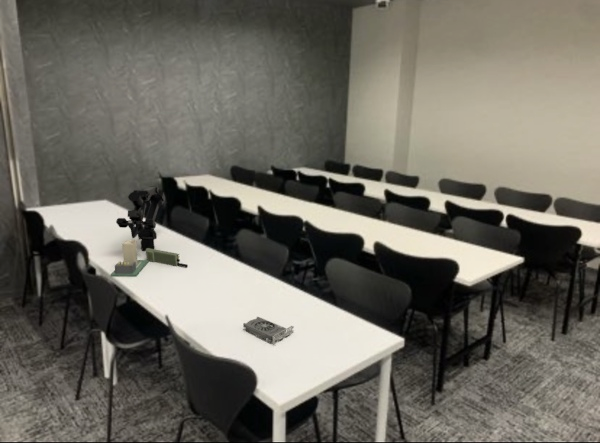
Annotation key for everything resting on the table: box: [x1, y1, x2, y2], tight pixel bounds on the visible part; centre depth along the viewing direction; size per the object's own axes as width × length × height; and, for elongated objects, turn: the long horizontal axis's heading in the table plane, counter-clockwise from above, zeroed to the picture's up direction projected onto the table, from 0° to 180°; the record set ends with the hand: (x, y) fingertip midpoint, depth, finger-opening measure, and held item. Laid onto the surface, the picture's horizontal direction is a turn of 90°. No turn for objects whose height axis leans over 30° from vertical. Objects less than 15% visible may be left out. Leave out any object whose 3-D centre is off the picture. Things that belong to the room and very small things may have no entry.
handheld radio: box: [145, 248, 188, 268], centre depth 234 cm, size 7×3×25 cm
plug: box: [121, 238, 138, 265], centre depth 226 cm, size 5×5×13 cm
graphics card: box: [243, 316, 294, 346], centre depth 171 cm, size 17×4×12 cm
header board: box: [110, 259, 150, 278], centre depth 226 cm, size 20×12×6 cm, turn 1°
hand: (133, 237), depth 232 cm, fingers closed
